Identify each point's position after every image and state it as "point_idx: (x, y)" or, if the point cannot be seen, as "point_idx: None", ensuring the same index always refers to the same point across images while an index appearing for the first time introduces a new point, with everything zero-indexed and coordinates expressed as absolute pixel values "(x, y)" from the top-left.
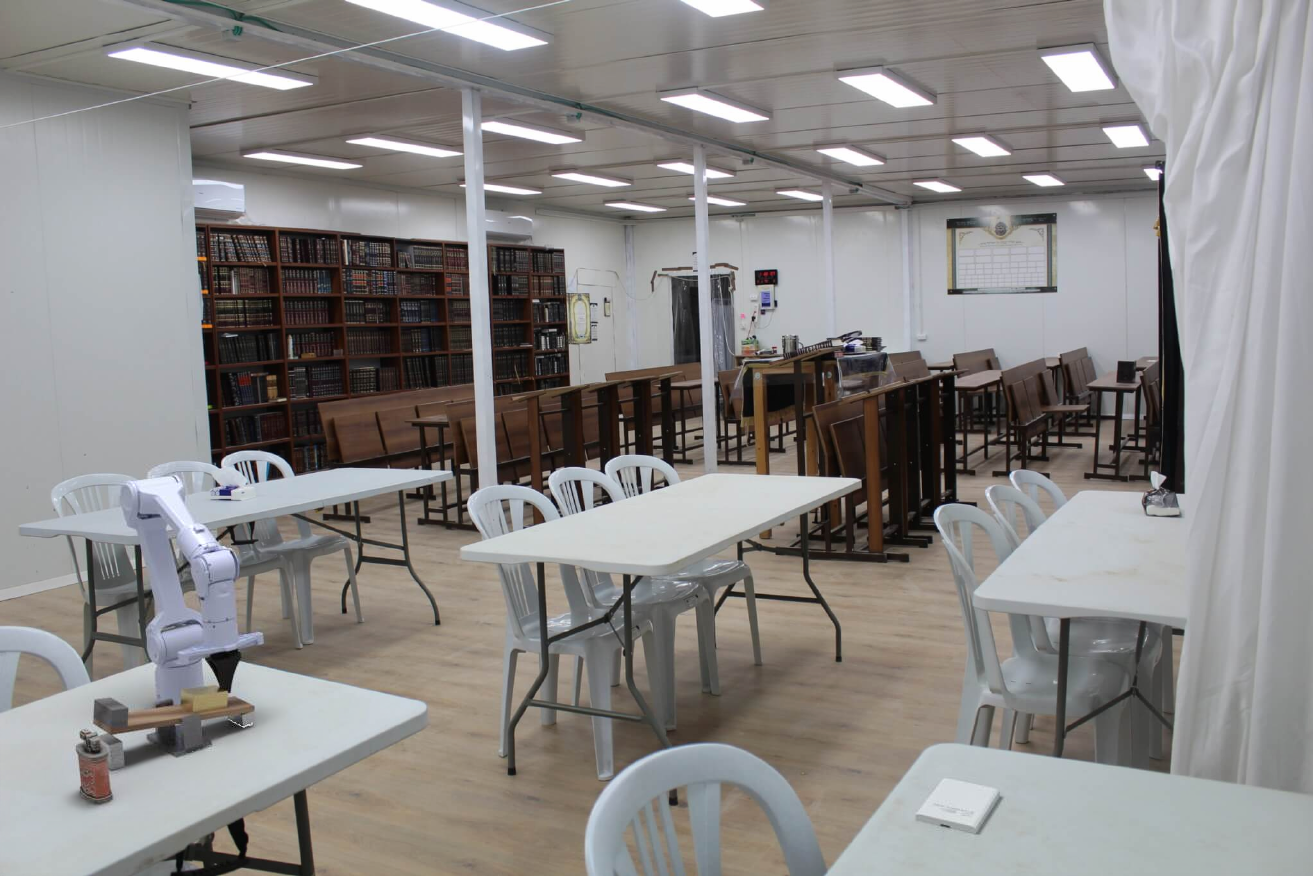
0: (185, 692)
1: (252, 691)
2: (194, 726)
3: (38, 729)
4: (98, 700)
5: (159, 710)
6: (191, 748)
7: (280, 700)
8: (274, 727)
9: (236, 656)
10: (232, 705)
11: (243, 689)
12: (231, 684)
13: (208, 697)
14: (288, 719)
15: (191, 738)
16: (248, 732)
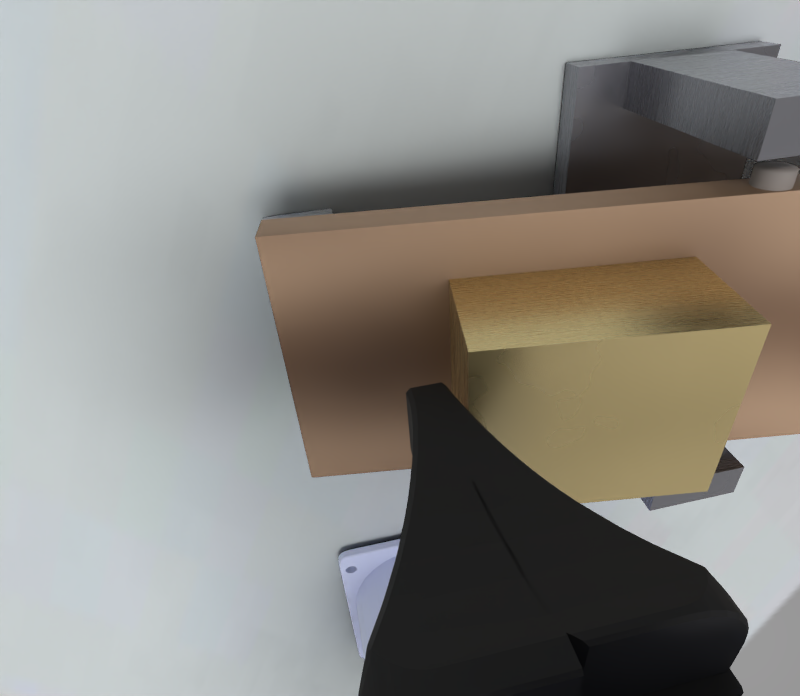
0: (724, 439)
1: (164, 606)
2: (760, 79)
3: (747, 594)
4: None
5: (781, 392)
6: (692, 54)
7: (51, 470)
8: (152, 71)
9: (459, 677)
10: (393, 316)
11: (193, 632)
12: (418, 425)
13: (628, 318)
14: (31, 155)
15: (730, 63)
16: (326, 119)
